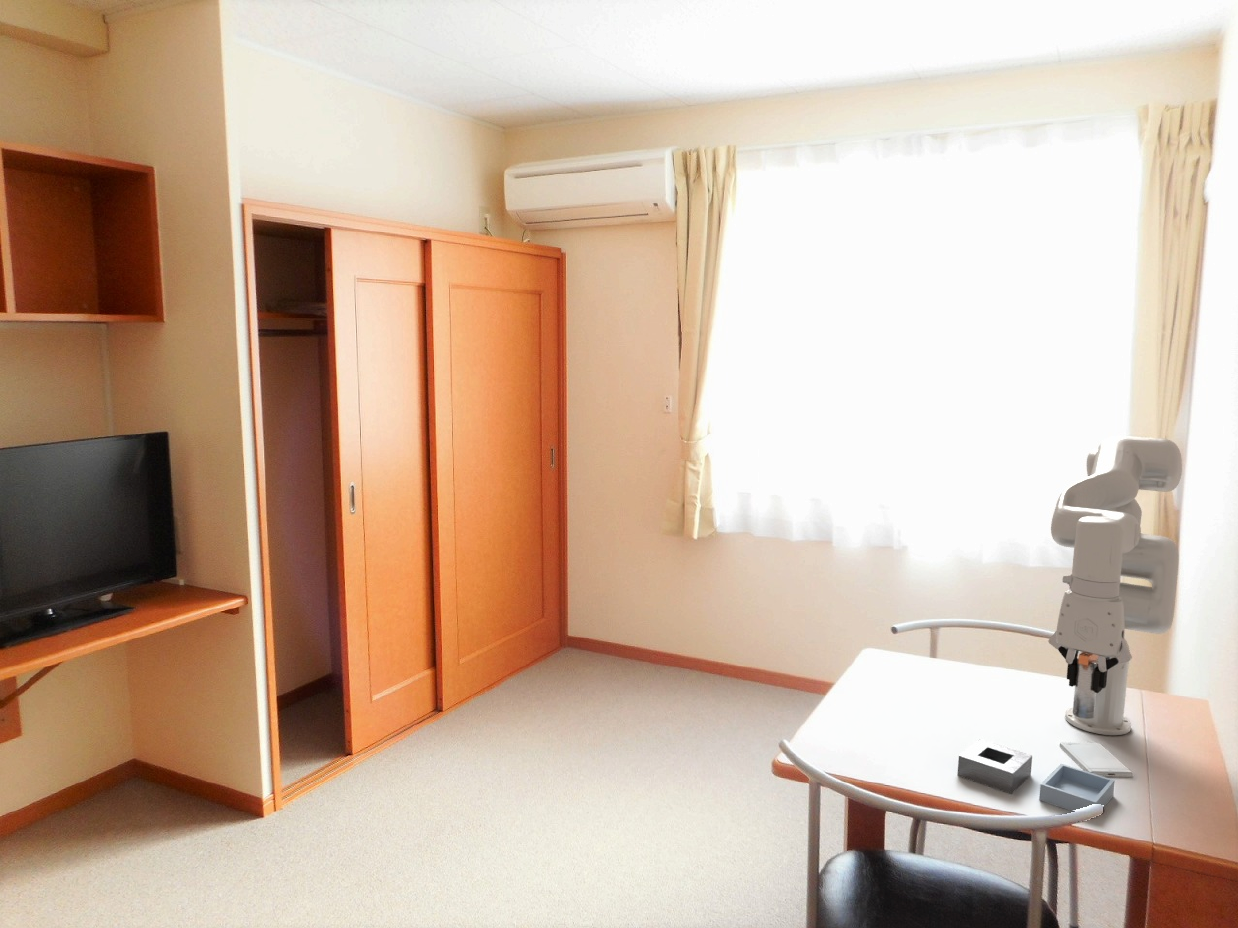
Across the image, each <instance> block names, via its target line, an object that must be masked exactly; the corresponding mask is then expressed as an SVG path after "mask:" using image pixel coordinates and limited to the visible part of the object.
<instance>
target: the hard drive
mask: <svg viewBox="0 0 1238 928" xmlns="http://www.w3.org/2000/svg"><path fill="white" fill-rule="evenodd" d="M1059 747H1060V749H1061V750H1062V751H1063V752H1065V754H1066V755H1067V756H1069V757H1070V759H1072V760H1073V761H1074V762H1075V763H1076V764H1077V765H1078V766H1079V767H1080V768H1081V770H1083V771H1086V772H1090V773H1093V774H1096V775H1099V776H1102V777H1119V778H1120V777H1124V778H1125V777H1127V778H1129V777H1130V778H1133V777H1134V773H1133V771H1132V770H1130V769H1129V768H1128V767H1127V766H1126V765H1125V764H1124V763H1122V761H1120V760H1119V759H1118V758H1117V757H1116V756H1115V755H1113V754H1112V753H1111V752H1110V750H1108V749H1107V748H1105V747H1104V746H1103V745H1102V744H1101V743H1100V742H1071V741H1070V742H1066V741H1065V742H1060V743H1059Z"/></svg>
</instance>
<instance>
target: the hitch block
mask: <svg viewBox="0 0 1238 928" xmlns="http://www.w3.org/2000/svg"><path fill="white" fill-rule="evenodd" d="M1032 762H1033V755H1032V754H1028V753H1026V752H1023V751H1019V750H1017V749H1013V748H1009V747H1006V746H1002V745H1000V744H996V743H994V742H991V741H987V740H984V739H981V738H979V739H978V740H977V741H975V742H973V744H972V745H970V746H969V747H968V748H966V749H965V750H964V751H963V752H961V753H960V754H958V763H957V776H958V777H960V778H964V779H966V780H969V781H971V782H976V783H977V784H978V783H979V784H981V785H984V786H987V787H989V788H993V789H995V790H998V791H1002V792H1004V793H1007V794H1010V795H1012V794H1013V793H1014V792H1016V790H1017V789H1019V787H1020V786H1021V785H1022V784H1023V783H1024V782H1026V781H1027V780H1028V779H1029V778H1030V776H1031V775H1032Z"/></svg>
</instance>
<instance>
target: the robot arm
mask: <svg viewBox="0 0 1238 928" xmlns="http://www.w3.org/2000/svg"><path fill="white" fill-rule="evenodd" d="M1182 462H1183V461H1182V454H1181V451H1180V448H1179V446H1178V445H1177V443H1175V442H1174V441H1172V440H1170V439H1168V438H1162V437H1161V438H1160V437H1146V436H1145V437H1143V436H1132V435H1131V436H1129V435H1128V436H1127V435H1117V436H1116V435H1115V436H1110V437H1108V438H1106V439H1104V440H1103V441H1102V442H1101V443H1100V444H1099V445H1098V447H1097V448H1094V449H1093V450H1091V451H1090V452H1089V453H1088V455H1087V458H1086V474H1087V477H1085V478H1082V479H1081V480H1078V481H1076V482H1074V483H1073V484H1071V485H1070V486H1069V485H1068V487H1067V488H1065V489H1064V490H1063V491H1062V492H1061V494H1060V495H1059V497H1058V499H1057V501H1056V504H1055V508H1054V511H1053V514H1052V517H1051V523H1050V524H1051V525H1050V534H1051V537H1052V540H1053V541H1054V542H1055V543H1056V544H1057V545H1059V546H1061V547H1064V548H1072V549H1073V557H1072V569H1071V574H1070V575H1063V576H1062V583H1063V584H1067V585H1068V588H1069V589H1067V590H1065V591H1064V594H1063V597H1062V600H1061V605H1060V609H1059V614H1058V620H1057V626H1056V630H1055V632H1054V633H1053V634H1052V635H1051V637H1050V638H1048V643H1049V644H1050V646H1051V647H1053V648H1054V649H1056V650H1057V651H1058V652H1059V653H1060V655H1061V656H1062V657H1063V658H1064V659H1065V663H1066V664H1067V668H1066V669H1067V670H1066V680H1068V686H1069V687H1075V680H1076V669H1077V659H1078V658H1079V654H1081V653H1082V652H1086V653H1090V654H1095V655H1098V659H1097V660H1096V661H1098V664H1099V666H1098V670H1096V671H1095V677H1094V688H1093V691H1094V692H1095V693H1096V699H1095V710H1094V718H1091V719H1085V718H1080V717H1077V716H1075V715H1073V707H1071V708H1068V709H1067V710H1066V711H1065V715H1064V717H1065V720H1066V721H1067V722H1068V723H1069V724H1070V725H1072V726H1073V727H1076V728H1078V729H1080V730H1083V731H1085V732H1089V733H1093V734H1098V735H1104V736H1105V735H1106V736H1122V735H1126V734H1128V733H1129V732H1131V730H1132V724H1131V722H1130V720H1128V719H1127V718H1126V717H1125V715H1124V714H1125V704H1126V696H1127V695H1126V694H1127V685H1128V684H1127V683H1128V675H1129V666H1130V665H1129V662H1130V661H1131V660H1132V659H1133V656H1132V654H1131V651H1130V650H1131V649H1130V647H1129V642H1127V640H1126V638H1125V634H1126V633H1125V631H1126V630H1128V631H1129V630H1130V631H1135V632H1136V631H1137V632H1142V633H1150V634H1157V635H1159V634H1160V635H1161V634H1166V633H1167V632H1168V631H1170V629H1171V628H1172V625H1173V622H1174V615H1175V605H1176V595H1177V585H1178V574H1179V560H1180V558H1179V557H1180V556H1179V549H1178V545H1177V544H1176V542H1175V541H1174V540H1173V539H1171V538H1170V537H1167V536H1164V535H1157V534H1147V533H1141V532H1142V530H1141V529H1142V527H1141V524H1142V516H1143V515H1142V513H1143V511H1142V509H1141V506H1140V504H1139V502H1138V501H1137V500H1136V497H1137V495H1138V493H1139V491H1140V490H1141V491H1151V492H1161V493H1162V492H1164V493H1167V492H1172V491H1174V490H1175V489H1176V488H1177V487H1178V486H1179V484H1180V481H1181V479H1182V474H1183V473H1182V472H1183V468H1182V467H1183V465H1182ZM1121 577H1125V578H1131V579H1132V578H1133V579H1137V580H1138V579H1139V580H1144V581H1148V582H1149V583H1150V584H1151V586H1147V585H1140V584H1131V583H1128V582H1121Z"/></svg>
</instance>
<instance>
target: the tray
mask: <svg viewBox="0 0 1238 928" xmlns="http://www.w3.org/2000/svg"><path fill="white" fill-rule="evenodd" d="M1039 786H1040V787H1039V796H1038V800H1039V801H1042V802H1044V803H1047V804H1050V805H1053V806H1056V807H1059V808H1063V809H1064V810H1068V811H1071V812H1073V811H1072V810H1076V809H1080V808H1083V807H1087V806H1089V805H1092V804H1101V805H1104V808H1105V807H1106V805H1107V804H1108V803H1109V802H1110V800H1111V799H1112V798H1113V796H1114V790H1115V779H1113V778H1112V779H1111V778H1108V777H1107V776H1099V775H1096V774H1093V773H1090V772H1086V771H1084V770H1083V769H1079V768H1076V767H1073V766H1070V765H1066V764H1064V763H1060V764H1059V765H1058V766H1057V767H1056V768H1054V770H1053V771H1052V772H1051V773H1050V774H1049V775H1048V776H1047V777H1046V778H1045V779H1044V780H1043V781H1042V782H1041V783H1040V785H1039Z"/></svg>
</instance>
